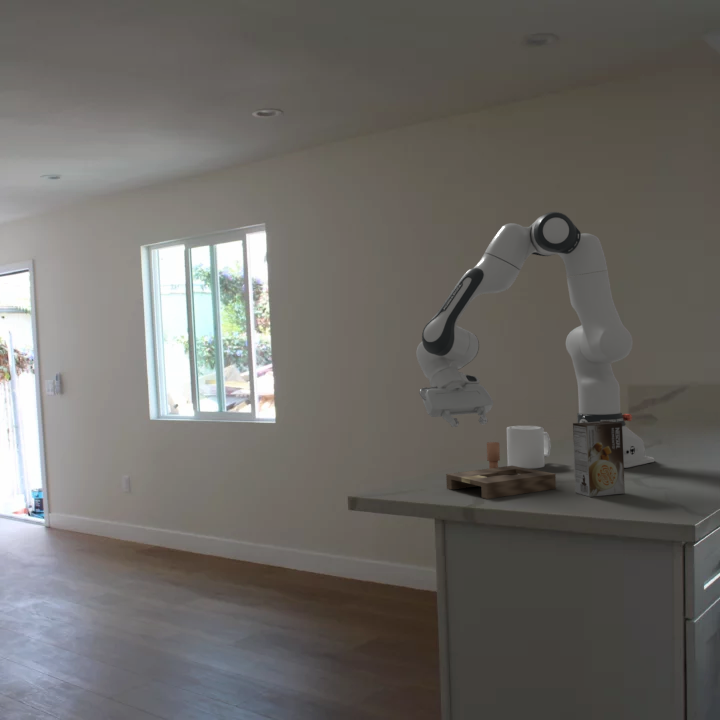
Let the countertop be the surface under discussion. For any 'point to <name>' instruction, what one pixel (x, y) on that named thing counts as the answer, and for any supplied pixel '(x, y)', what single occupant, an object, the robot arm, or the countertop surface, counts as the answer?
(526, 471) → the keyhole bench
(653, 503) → the countertop surface
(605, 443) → the coffee box
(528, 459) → the mug
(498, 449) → the peg
